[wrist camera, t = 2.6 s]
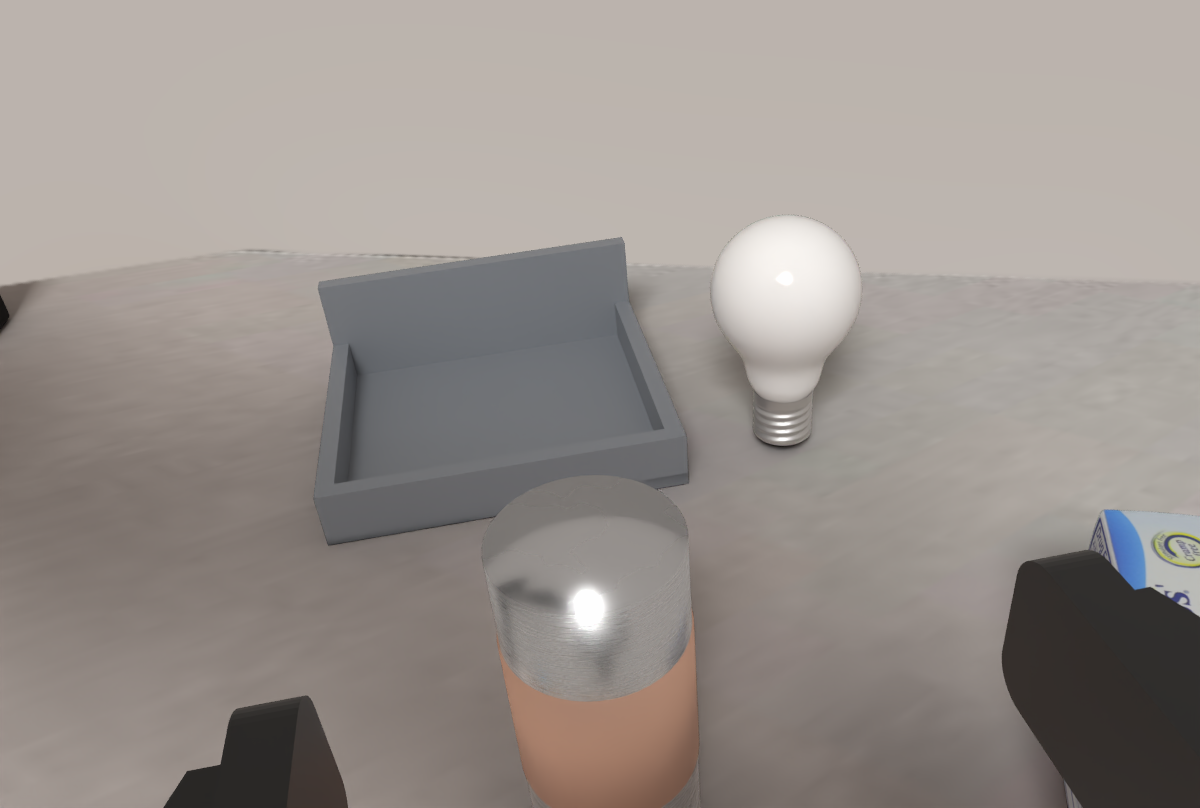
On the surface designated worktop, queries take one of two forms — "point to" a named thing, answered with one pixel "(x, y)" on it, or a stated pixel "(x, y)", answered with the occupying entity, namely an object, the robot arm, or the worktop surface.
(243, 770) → the robot arm
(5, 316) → the battery
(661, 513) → the tin can
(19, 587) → the worktop surface
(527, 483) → the tote
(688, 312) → the worktop surface
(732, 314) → the lightbulb
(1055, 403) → the worktop surface
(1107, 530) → the medicine box
